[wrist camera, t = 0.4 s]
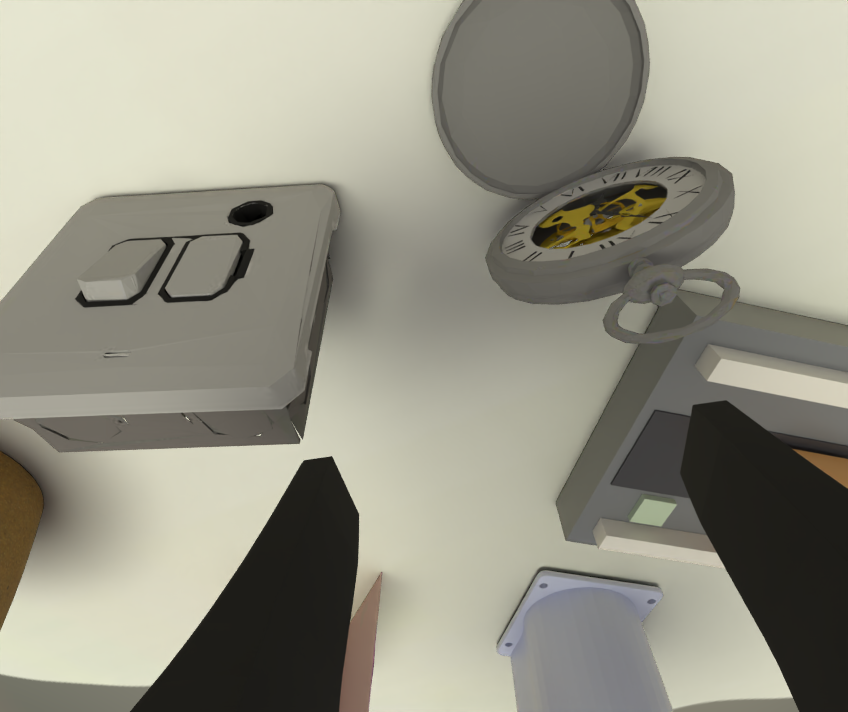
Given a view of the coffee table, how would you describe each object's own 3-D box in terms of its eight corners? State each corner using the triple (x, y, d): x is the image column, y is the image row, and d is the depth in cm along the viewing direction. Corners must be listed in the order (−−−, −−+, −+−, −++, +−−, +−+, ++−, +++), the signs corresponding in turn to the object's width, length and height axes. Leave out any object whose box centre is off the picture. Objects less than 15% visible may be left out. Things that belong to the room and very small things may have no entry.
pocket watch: (512, -99, 13) (643, -340, 5) (723, 82, 16) (1059, 123, 7) (374, 167, 17) (316, 282, 9) (559, 281, 20) (654, 461, 11)
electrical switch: (340, 178, 18) (273, 324, 10) (361, 301, 21) (321, 479, 13) (90, 194, 18) (-143, 343, 11) (148, 311, 21) (-2, 488, 14)
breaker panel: (820, 546, 28) (865, 603, 25) (555, 502, 26) (570, 558, 24) (1012, 361, 21) (1104, 410, 18) (669, 287, 20) (710, 329, 17)
